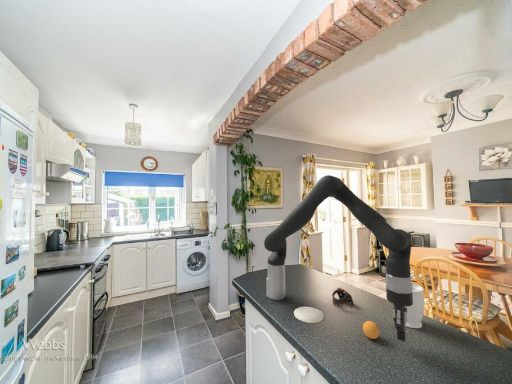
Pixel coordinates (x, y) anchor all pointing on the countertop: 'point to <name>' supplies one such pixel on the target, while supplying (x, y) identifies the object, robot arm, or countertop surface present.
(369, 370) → the countertop surface
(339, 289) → the pottery mug
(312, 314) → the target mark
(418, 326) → the jar
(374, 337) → the ball
